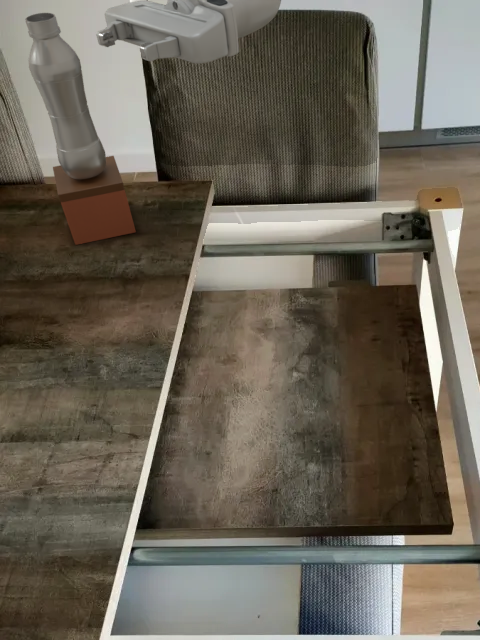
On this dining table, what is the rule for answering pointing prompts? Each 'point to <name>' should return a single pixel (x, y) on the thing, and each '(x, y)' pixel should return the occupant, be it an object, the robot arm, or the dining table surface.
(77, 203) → the step stand
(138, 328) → the dining table surface
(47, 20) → the plastic bottle
